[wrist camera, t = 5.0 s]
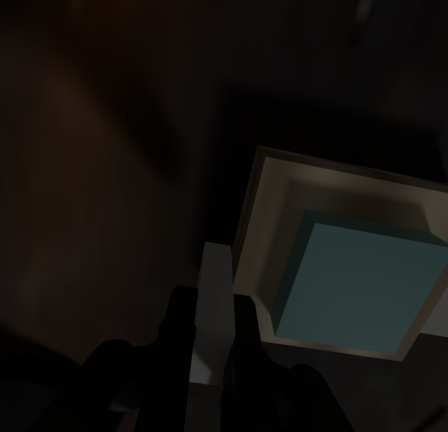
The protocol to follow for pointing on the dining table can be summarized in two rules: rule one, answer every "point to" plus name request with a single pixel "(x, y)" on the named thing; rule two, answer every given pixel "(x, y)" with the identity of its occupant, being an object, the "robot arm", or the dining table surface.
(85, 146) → the dining table surface
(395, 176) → the serving board
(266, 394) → the robot arm
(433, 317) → the mat
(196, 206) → the dining table surface
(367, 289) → the teal block
